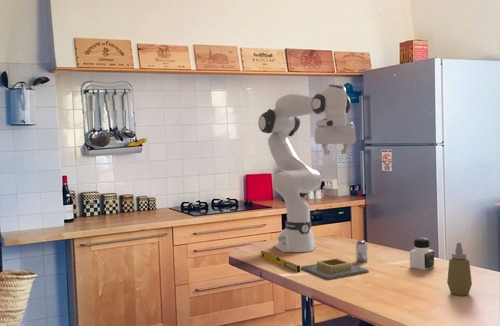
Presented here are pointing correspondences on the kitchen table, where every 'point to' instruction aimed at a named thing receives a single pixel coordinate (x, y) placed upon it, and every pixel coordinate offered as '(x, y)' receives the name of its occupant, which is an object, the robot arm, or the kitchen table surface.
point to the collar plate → (334, 269)
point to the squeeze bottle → (459, 273)
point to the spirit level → (280, 261)
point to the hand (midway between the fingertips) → (335, 154)
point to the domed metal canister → (361, 251)
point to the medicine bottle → (421, 255)
